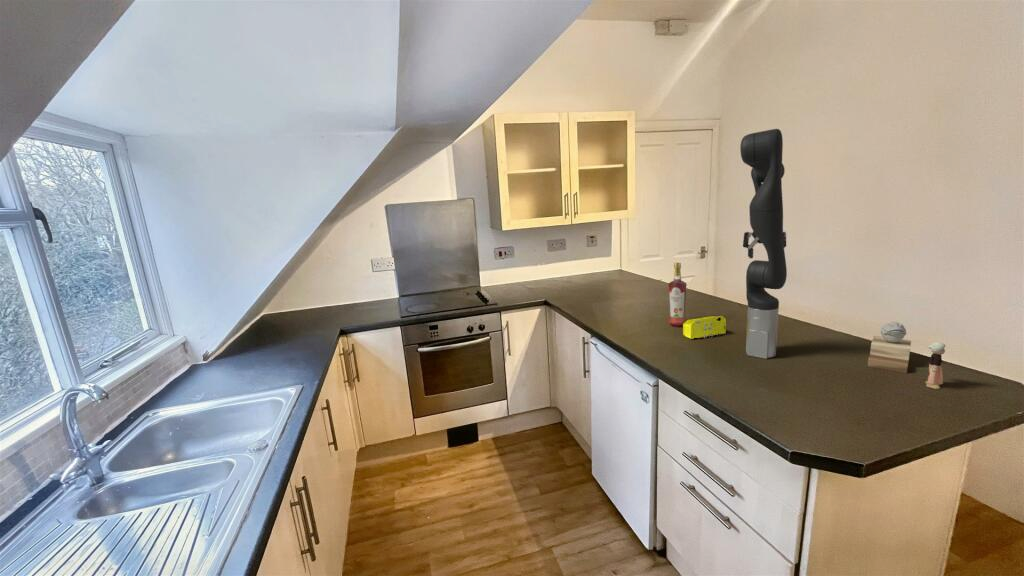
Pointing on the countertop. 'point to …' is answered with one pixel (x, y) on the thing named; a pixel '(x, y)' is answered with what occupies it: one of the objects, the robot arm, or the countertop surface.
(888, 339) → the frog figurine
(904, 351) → the plinth
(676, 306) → the liquor
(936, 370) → the grandmother figurine
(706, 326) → the yellow toy chassis
